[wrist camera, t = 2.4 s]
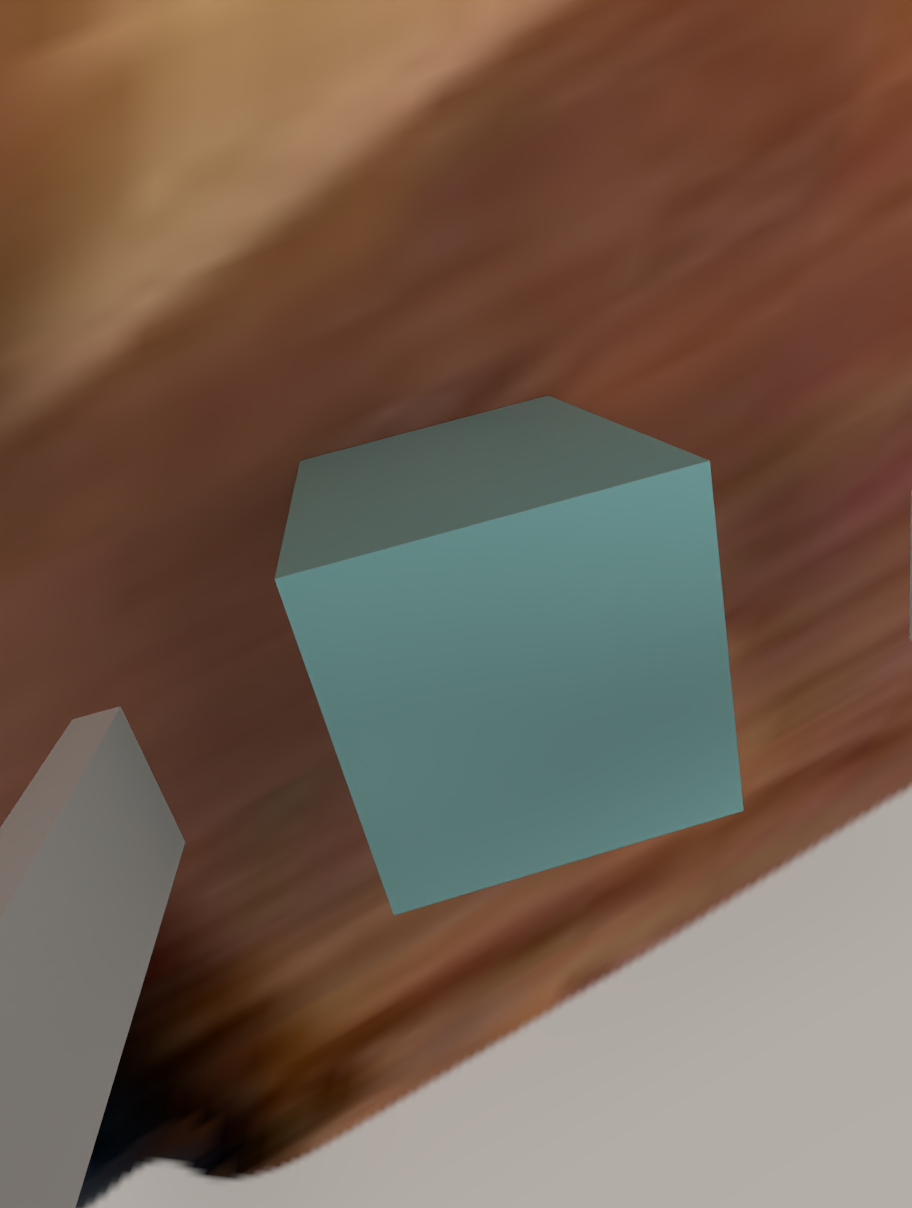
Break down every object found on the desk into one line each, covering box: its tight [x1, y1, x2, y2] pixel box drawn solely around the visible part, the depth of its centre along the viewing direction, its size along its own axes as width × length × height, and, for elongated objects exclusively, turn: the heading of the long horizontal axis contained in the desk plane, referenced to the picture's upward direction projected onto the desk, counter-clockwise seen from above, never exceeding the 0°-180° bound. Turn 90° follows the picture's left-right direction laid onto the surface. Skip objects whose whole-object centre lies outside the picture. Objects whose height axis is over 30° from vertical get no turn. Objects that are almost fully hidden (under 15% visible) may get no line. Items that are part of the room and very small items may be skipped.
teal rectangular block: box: [275, 396, 744, 915], centre depth 15 cm, size 6×6×8 cm
